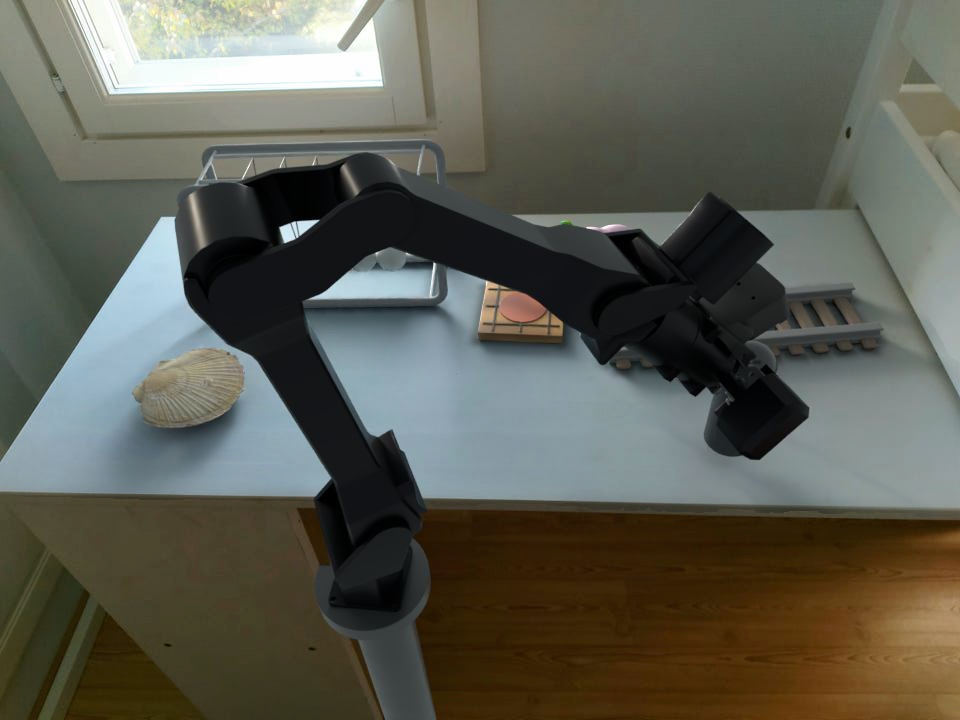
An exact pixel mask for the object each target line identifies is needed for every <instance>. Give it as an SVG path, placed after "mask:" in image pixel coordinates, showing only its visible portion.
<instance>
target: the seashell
mask: <svg viewBox="0 0 960 720" xmlns="http://www.w3.org/2000/svg"><path fill="white" fill-rule="evenodd" d="M245 374H246V372H245V371H244V365H243V364H241V362H240V360H239V358H238V356H237V355H236V354H231V352H230V351H227V350H226V349H223V348H216V347H199V348H193V349H190V350H189V351H185V352H184V353H182V354H181V355H179V356H177V357H176V358H174V359H163V360H160V361H159V362H157V364H156V365H155V366H154V367H153V369H152V370H151V371H149V373H148V375H147V376H146V377H145V378H144V379H143V380H142V381H141V382H140V383H139V384H137V385H136V386H135V387H134V389H133V390H132V391H131V394H132V396H133V398H134V400H135V402H137V403H139V404H140V406H139V407H140V408H139V409H140V414H141V416H142V421H143V422H144V423H145V424H147V425H149V426H153V427H158V428H164V429H165V428H167V429H183V428H190V427H195V426H199V425H202V424H205V423H206V422H211V421H213V420H215V419H217V418H220V417H221V416H223V415H224V414H225V413H227V412H229V411H230V410H231V408H232V406H233V405H234V404H235V403H236V401H237V400H238V399H239V398H240V397H241V394H242V393H243V392H244V391H245V387H244V384H245Z"/></svg>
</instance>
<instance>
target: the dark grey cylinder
mask: <svg viewBox="0 0 960 720" xmlns="http://www.w3.org/2000/svg"><path fill="white" fill-rule="evenodd" d="M745 344H746V345H747V346H748V347H749V348H750V349H751V350H752V352H750V353H749V354H748V355H747V356H746V357H745V358H744V359H743V360H742V361H740V362H741V363H742V364H743V365H744V366H745V367H746V368H749V367H756V368H758V369H759V370H760V369H761V368H762V367H763V366H764V365H765V364H767V365H768V366H769V367H770V368H771V369H772V370H773V371H774V372H775V373H776V374H777V375H778V370H779V364H778V363H779V362H778V358H777V356H775V354H774V352H773V351H772V350H771V349H770V348H769V347H768V346H767V345H766V344H764V343H762V342H759V341H756V340H751V341H747V342H746V343H745ZM732 370H733V369H732ZM731 373H732V375H733V376H734V377H735V378H736V379H737V380H738V379H739V378H738V376H736V375H735V373H734V372H732V371H731ZM719 384H720V386H722V387H723V389H722V391H721V392H720V393H719V394H718V395H713V394H712V399H711V403H710V405H709V411H708V414H707V418H706V422H705V426H704V430H703V439H704V442H705V443H706V445H707V446H708V448H709V449H711V450H712V451H714V452H715V453H717V454H718V455H721V456H723V457H728V458H729V457H730V458H739V457H742V455H740V454H739V453H738V451H737V450H736V449H735V448H734V446H733V445H732V444H731V443H730V442H729V440H728V439H727V438H726V437H725V435H724V434H723V433H722V432H721V431H720V429H719V428H718V427H717V426H716V423H717V420H718V417H717V416H716V414H715V413H714V411H715V410H716V409H718V408H719V407H720V406H721V405H722V404H723V403H724V402H725V401H726V399H727V398H729V397H728V395H727V394H726V393H725V391H727V390H726V389H725V388H724V386H723V385H722V384H721V383H719Z"/></svg>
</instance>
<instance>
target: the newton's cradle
mask: <svg viewBox="0 0 960 720" xmlns="http://www.w3.org/2000/svg"><path fill="white" fill-rule="evenodd" d="M425 150H428V151H430V152H431V153H433V155H434V158H435V167H436V178H437V183H438V184H440V185H442V186H445V187H447V188H448V180H447V168H446V157H445V154H444V153H445V152H444V150H443V149H442V147H441V145H440V144H438V143H437V142H436V141H433V140H431V139H427V138H426V139H425V138H421V139H419V138H418V139H383V140H382V139H381V140H379V139H378V140H347V141H344V140H343V141H307V142H306V141H305V142H275V143H274V142H272V143H270V142H269V143H268V142H267V143H235V144H233V143H232V144H229V143H228V144H213V145H210V146H208V147H206V148H205V149H204V151H203V152H202V154H201V165H202V167H203V169H202V171H201V173H200V174H199V176H198V178H197V180H196V182H195V183H194V184H192V185H188V186H187V185H186V186H185V187H183V188H181V189H180V190H179V192H178V193H177V198H176V202H177V207H178V208H179V207H180V205H181V204H182V203H183V202H184V200H185V199H186V198H187V197H188V196H189V195H190V194H191V193H193V192H194V191H196V190H198V189H200V188H201V187H203V186H206V185H207V184H208V185H210V184H214V183H219V182H228V183H236V182H239V181H242V180H244V179H245V176H246V173H247V172H248V169H249V168H250V165H251V164H252V166H253V171H254V176H255V175H257V170H256V163H255V159H260V158H263V159H264V158H265V159H266V158H282V160H281V163H280V165H279V167H278V168H282V165H283V162H284V166H285V167H284V168H287V167H288V165H287V160H286V158H299V157H300V158H301V157H302V158H303V157H314V160H313V163H312V165H314V164H315V162H316V165H319V162H318V157H335V156H337V157H339V156H340V157H341V156H342V157H343V156H346V157H348V156H351V155H353V154H357V153H363V152H370V153H375V154H378V155H382V156H383V155H412V154H414V155H415V154H416V155H417V154H420V155H419V160H418V166H417V171H416V175H419V176H421V173H422V167H423V162H424V157H425V156H424V155H425ZM220 159H221V160H223V159H225V160H226V159H251V160H250V162H249V163H248V166H247V168H246V170H245V172H244V174H243V176H242V178H221V179H220V178H217V175H216V172H215V168H214V165H213V161H214V160H220ZM205 176H206V179H203V178H204V177H205ZM289 225H290V227H291V230H292V232H293V236H294V239H296V238H298V237H299V236H300V230H299V225H298V221H297V222H295V226H296V231H297V235H296V232H295V229H294V227H293V222H292V223H290V224H289ZM297 236H298V237H297ZM430 262H431V261H428V260H425V259H422V258H419V257H417V256H414V255H411V254H408V253H405V252H402V251H399V250H396V249H393V248H391V247H390V248H387V249H384V250H382V251H379V252H377V253H374V254H372V255H369V256H367V257H365V258H364V259H363V260H362V261H360V262H359V263H358V264H357V265H356V266H355V267H353V268H352V270H354V271H356V272H360V273H365V272H368V271H370V270H372V269H373V268H374V267H375V265H376V264H378V265H379V266H380V268H382V269H384V270H385V271H387V272H396V271H399V270H401V269H402V268H403V267H404V266H405V264H406V263H430ZM431 263H432V262H431ZM432 267H433V268H432V272H431V282H430V288H429V289H430V290H429V296H423V297H422V296H413V297H412V296H411V297H404V296H403V297H402V296H401V297H350V298H349V297H348V298H347V297H344V298H340V297H339V298H338V297H337V298H310V299H307V300H305V301H302V303H303V307H304V309H312V308H313V309H314V308H315V309H316V308H317V309H320V308H323V309H324V308H381V307H383V308H384V307H385V308H387V307H433V306H437V305H440V304H442V303H443V302H444V301H445V300H446V299H447V297H448V293H449V288H448V287H449V286H448V277H447V267H445V266H443V265H440V264H437V263H434V262H433V265H432ZM436 276H437V277H436ZM436 278H437V287H438V293H437V294H436V295H434V288H435V280H436Z"/></svg>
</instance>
